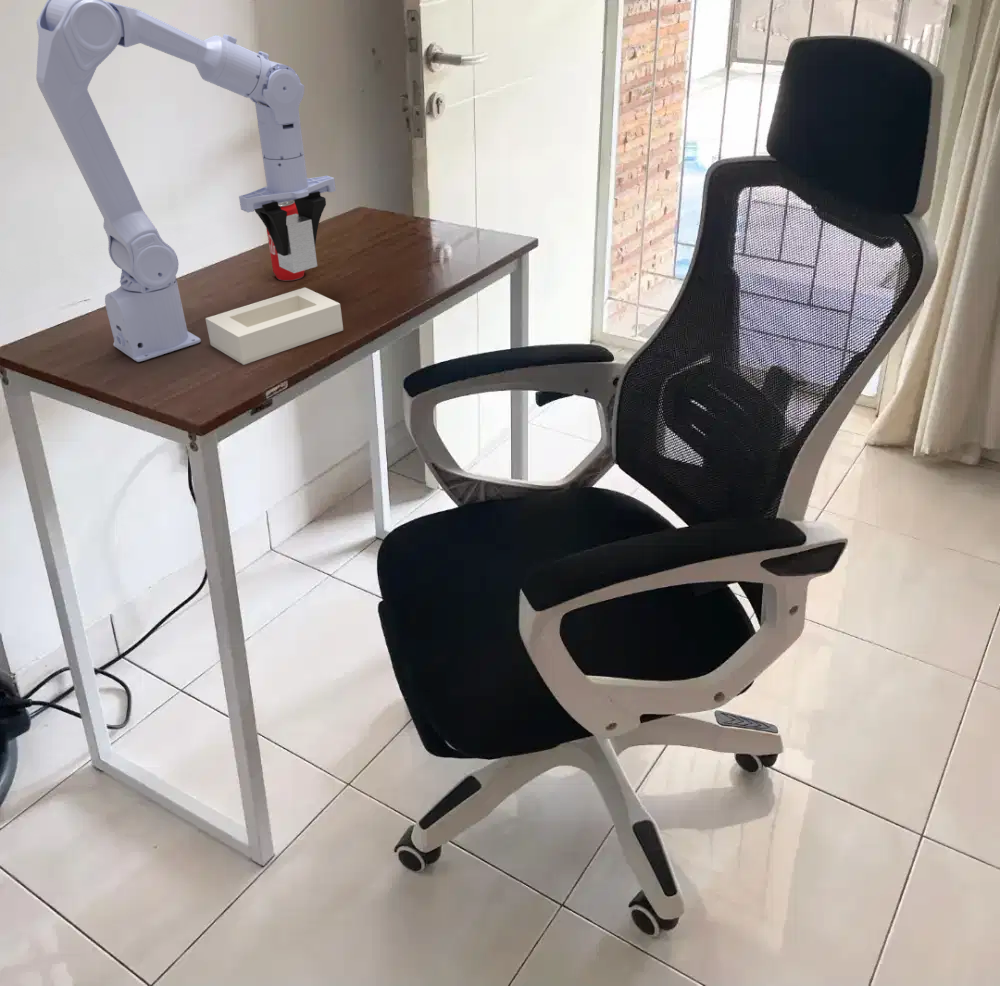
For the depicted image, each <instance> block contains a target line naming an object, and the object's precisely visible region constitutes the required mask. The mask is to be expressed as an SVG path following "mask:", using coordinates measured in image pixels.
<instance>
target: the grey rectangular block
mask: <svg viewBox="0 0 1000 986" xmlns="http://www.w3.org/2000/svg"><path fill="white" fill-rule="evenodd" d="M286 236H287V242H288V255H286V256H283V255H281V254H278V260H279V266H280V267H281V268H284V269H286V270H288V271H290V272H292V273H297V272H300V271H303V270H305V271H306V270H307V271H308V270H309V269H310V270H311V269H313V268H316V267H318V261H317V253H316V245H315V244H314V236H313V229H312V221H311V219H309V218H306V217H304V216H301V215H299V214H293V215H289V216H287V218H286Z"/></svg>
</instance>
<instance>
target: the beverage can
mask: <svg viewBox="0 0 1000 986" xmlns="http://www.w3.org/2000/svg"><path fill="white" fill-rule="evenodd" d="M278 206H280V207H281V209H282V210H285V211H286V212H287V216H289V215H293V214H298V211H297V208H296V205H295V202H294V200H291V201H287V202H283V203H279V204H278ZM265 229H266V234H267V242H268V246H269V247H268V248H269V255H270V261H271V267H272V272H273V274H274V275H275V277H276V279H278V280H279V281H284V282H285V281H286V282H291V281H295V280H300V279H302V278H304V276H305V271H306V270H303V271H300V272H297V273H292V272H290V271H288V270H286V269H284V268H281V267H280V266H279V260H278V253H277V251H276V248H275V245H274V243H273V240H272V238H271V236H270V234H269V232H268V230H267V228H266V227H265Z"/></svg>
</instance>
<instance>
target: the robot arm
mask: <svg viewBox="0 0 1000 986" xmlns="http://www.w3.org/2000/svg"><path fill="white" fill-rule="evenodd" d="M35 23H36V29H37V33H38V41H37V59H36V76H35V77H36V82H37V86H38V88H39V91H40V92H41V94H42V96H43V99H44V100H45V103H46V105H47V107H48V108H49V110H50V113H51V114H52V116H53V118H54V121H55V123H56V125H57V127H58V129H59V130H60V133H61V135H62V137H63V140H64V141H65V143H66V145H67V146H68V149H69V151H70V154H71V155H72V158H73V160H74V161H75V162H76V165H77V167H78V169H79V171H80V173H81V175H82V177H83V180H84V181H85V183H86V187H88V189H89V191H90V194H91V196H92V197H93V201H95V203H96V206H97V208H98V209H99V212H100V214H101V216H102V217H103V229H104V231H105V234H106V237H107V239H108V254H109V258H110V259H111V261H112V262H113V264H114V265H115V266H116V267H117V268H119V269H121V275H120V278H119V279H120V281H119V283H120V286H119V287H118V288H117V289H115V290H113V291H111V292H108V293H106V294H105V296H104V297H105V298H104V304H105V309H106V310H105V311H106V314H107V317H108V321H109V326H110V330H111V333H112V337H113V341H114V342H113V344H112V345H113V346H114V348H116V349H118V350H119V351H121V352H122V353H123V354H125V355H126V356H128V357H129V358H131V359H132V360H134V361H135V362H137V363H140V362H143V361H147V360H150V359H153V358H156V357H159V356H163V355H164V354H165V355H166V354H168V353H172V352H174V351H179V350H180V349H181V350H182V349H184V348H187V347H189V346H190V347H191V346H193V345H197V344H199V343H200V342H201V341H202V340H201V338H200V337H199V336H197V335H195V334H193V333H191V332H190V331H188V328H187V323H186V317H185V314H184V309H183V305H182V298H181V294H180V289H179V286H178V285H179V284H178V280H177V279H178V278H177V273H178V270H179V257H178V255H177V253H176V252H175V249H174V248H173V247H171V246H170V245H169V244H168V243H166V242H165V241H164V240H163V239H162V238H161V236H160V233H159V232H158V229H157V228H156V226H155V225H154V223H153V221H151V219H150V218H149V217H148V215H147V214H146V213H145V210H144V209H143V206H142V205H141V202H140V200H139V199H138V195H137V194H136V192H135V190H134V188H133V185H132V183H131V181H130V179H129V177H128V175H127V173H126V171H125V167H124V166H123V164H122V161H121V160H120V157H119V156H118V155H119V154H118V153H117V150H116V149H115V147H114V145H113V143H112V140H111V139H110V136H109V134H108V131H107V130H106V128H105V125H104V122H103V120H102V119H101V116H100V114H99V113H98V110H97V107H96V106H95V104H94V101H93V99H92V97H91V95H90V93H89V90H88V88H89V86H90V83H91V81H92V79H93V77H94V75H95V73H96V70H97V68H98V67H99V66H100V65H101V64H102V63H103V62H104V61H105V60H106V59H107V58H108V57H109V56H110V55H111V54H112V53H113V52H114V51H115V49H116V48H117V47H118V46H120V47H124V48H129V47H133V46H135V45H139V44H141V45H144V46H147V47H149V48H152V49H154V50H157V51H158V52H159V51H160V52H162V53H165V54H167V55H170V56H172V57H175V58H177V59H179V60H183V61H185V62H187V63H191V64H193V65H195V68H196V69H197V72H198V74H199V76H200V77H201V79H202V80H203V81H205V82H207V83H210V84H212V85H215V86H217V87H220V88H222V89H224V90H227V91H230V92H231V93H234V94H237V95H239V96H242V97H244V98H248V99H249V100H250V101H252V102H253V103H254V104H255V105H254V106H255V113H256V118H257V119H256V120H257V127H258V134H259V141H260V146H261V147H260V149H261V154H262V162H263V169H264V174H265V175H264V176H265V182H266V186H263V187H260V188H259V189H256V190H253V191H251V192H247V193H245V194H241V195H239V196H238V200H239V206H240V210H241V211H244V212H246V213H252V212H255V213H256V215H257V216H258V217H259V219H260V220H261V222H262V224H264V226H265V229H266V228H267V229H266V231H267V230H268V232H269V234H270V236H271V238H272V240H273V243H274V245H275V248H276V251H277V253H278V254H281V255H283V256H286V255H288V242H287V236H286V218H287V212H286V211H285V210H282V209H281V207H280V206H278V204H279V203H283V202H287V201H291V200H294V202H295V205H296V208H297V211H298V214H299V215H301V216H304V217H306V218H309V219H311V221H312V229H313V236H314V244H315V246H316V243H317V235H318V229H319V224H320V221H321V217H322V214H323V212H324V210H325V208H326V205H327V199H326V197H324V196H321V194H323V193H333V192H336V182H335V177H332V176H329V175H324V176H317V177H310V178H309V177H308V174H307V166H306V158H305V156H306V155H305V150H304V149H305V148H304V143H303V134H302V126H301V118H300V104H301V102H302V100H303V98H304V95H305V84H302V82H301V78H300V76H299V75H298V74H297V73H296V70H295V69H293V68H292V67H291V66H289V65H286V64H284V63H279V62H276V61H273V60H270V59H269V57H270V55H269V53H267V52H264V51H261V50H259V51H258V52H255V51H253V50H250V49H248V48H246V47H244V46H242V45H240V44H238V43H237V41H238V39H237V37H234V36H232V35H229V34H226V33H224V34H223V35H222V36H221V35H218V34H217V35H216V34H215V35H212V36H209V37H208V38H206V39H203V40H202V39H200V38H199V37H197V36H194V35H192V34H191V33H188V32H185V31H184V30H182V29H180V28H178V27H175V26H173V25H172V24H170V23H167V22H165V21H163V20H161V19H159V18H157V17H154V16H153V15H150V14H149V13H147V12H145V11H142V10H140V9H138V8H134V7H131V6H126V5H123V4H120V3H119V4H118V3H115V2H111V1H106V0H46V2H45V4H44V6H43V8H42V9H41V12H40V13H39V15H38V17H37V19H36V22H35Z"/></svg>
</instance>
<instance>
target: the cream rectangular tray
mask: <svg viewBox="0 0 1000 986" xmlns="http://www.w3.org/2000/svg"><path fill="white" fill-rule="evenodd" d="M342 316H343V315H342V309H341V303H339V302H338V301H336V300H333V299H331V298H329V297H327V296H325V295H323V294H321V293H318V292H317V291H316V292H315V291H314V290H312V289H310V288H308V287H302V288H298V289H295V290H292V291H289V292H285V293H282V294H279V295H275V296H273V297H269V298H266V299H263V300H259V301H256V302H253V303H251V304H247V305H244V306H241V307H240V306H239V307H237V308H233V309H231V310H228V311H223V312H221V313H218V314H216V315H211V316H208V317H205V322H206V324H205V325H206V328H207V332H208V339H209V342H210V346H211V347H213V348H215V349H216V350H218V351H220V352H222V353H223V354H225V355H226V356H228V357H230V358H231V359H233V360H235V361H237V362H238V363H240V364H241V365H243V366H244V365H247V364H251V363H253V362H255V361H258V360H262V359H264V358H267V357H270V356H273V355H276V354H279V353H281V352H285V351H287V350H290V349H293V348H294V349H295V348H296V347H298V346H302V345H305V344H308V343H311V342H314V341H316V340H319V339H322V338H325V337H328V336H330V335H333V334H336V333H340V332H342V331H344V325H343V324H344V323H343V317H342Z"/></svg>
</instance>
